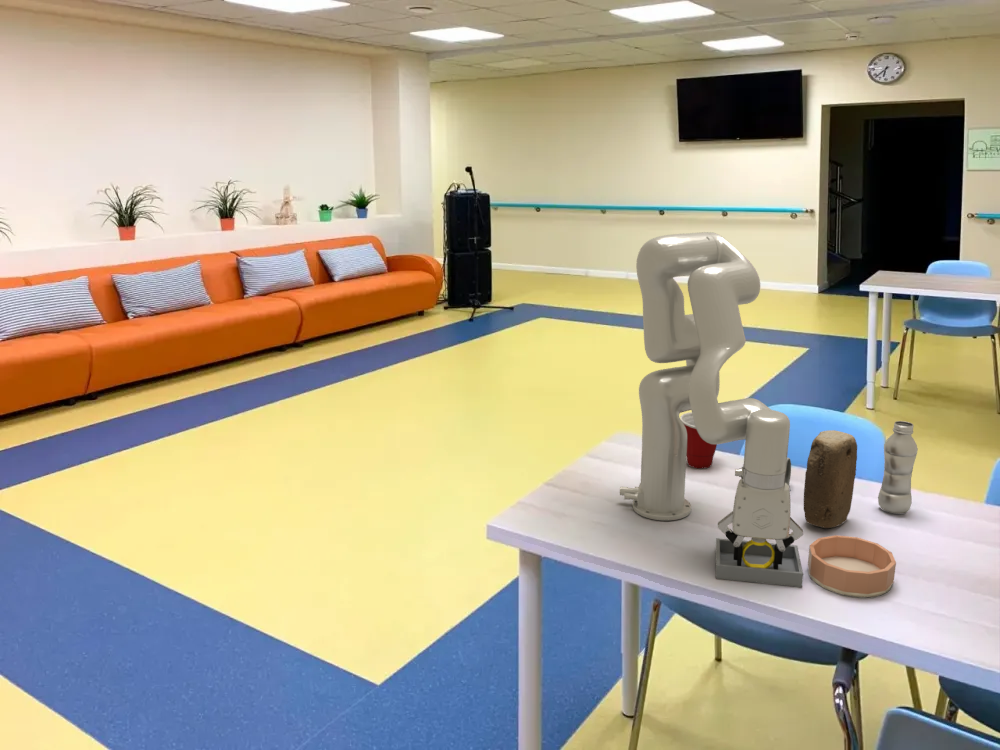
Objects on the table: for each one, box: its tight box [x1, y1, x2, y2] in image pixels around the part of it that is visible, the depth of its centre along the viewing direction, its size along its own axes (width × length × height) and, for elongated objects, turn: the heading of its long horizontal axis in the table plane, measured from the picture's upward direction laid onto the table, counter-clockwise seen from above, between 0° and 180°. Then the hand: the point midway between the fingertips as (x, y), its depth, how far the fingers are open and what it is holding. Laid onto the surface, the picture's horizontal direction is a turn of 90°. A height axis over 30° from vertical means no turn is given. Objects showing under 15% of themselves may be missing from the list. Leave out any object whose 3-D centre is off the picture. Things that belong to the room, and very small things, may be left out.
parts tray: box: [715, 537, 804, 588], centre depth 165 cm, size 15×11×3 cm
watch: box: [742, 537, 775, 569], centre depth 164 cm, size 6×3×6 cm, turn 82°
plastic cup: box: [679, 411, 718, 469], centre depth 213 cm, size 11×11×12 cm
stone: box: [803, 429, 858, 529], centre depth 180 cm, size 12×7×20 cm, turn 133°
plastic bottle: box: [877, 420, 919, 515], centre depth 185 cm, size 6×7×20 cm
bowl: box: [807, 534, 897, 598], centre depth 161 cm, size 14×14×5 cm
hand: (757, 564), depth 165 cm, fingers closed on watch, 6 cm apart
